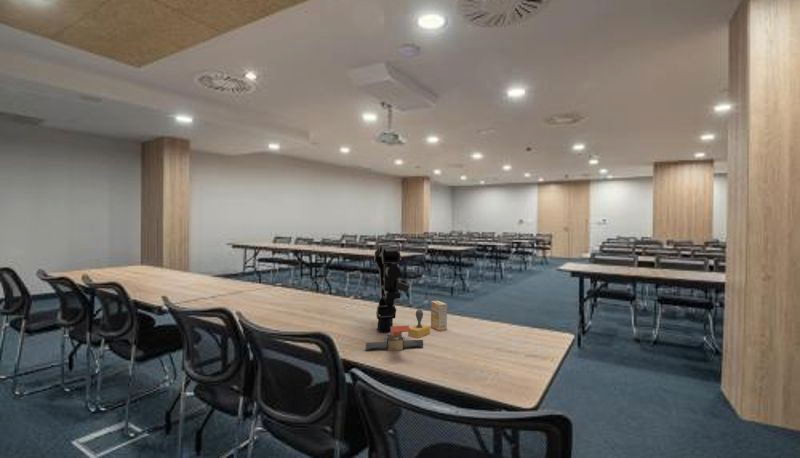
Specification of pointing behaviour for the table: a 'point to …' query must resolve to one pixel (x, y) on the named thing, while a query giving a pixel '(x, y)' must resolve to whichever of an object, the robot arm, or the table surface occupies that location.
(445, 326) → the supplement box
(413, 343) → the pipe valve
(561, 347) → the table surface
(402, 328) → the lever
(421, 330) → the rubber stamp
